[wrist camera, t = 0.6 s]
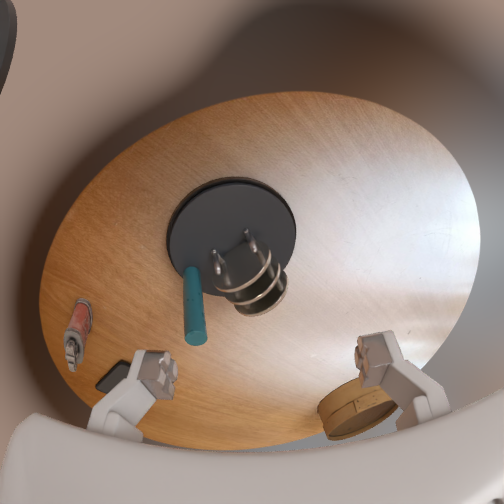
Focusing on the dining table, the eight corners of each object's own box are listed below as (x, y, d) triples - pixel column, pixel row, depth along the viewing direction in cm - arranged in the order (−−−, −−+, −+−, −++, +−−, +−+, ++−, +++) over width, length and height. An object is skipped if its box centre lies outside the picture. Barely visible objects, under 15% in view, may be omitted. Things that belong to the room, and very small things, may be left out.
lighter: (74, 296, 38) (57, 341, 29) (92, 301, 39) (78, 347, 31) (75, 328, 41) (63, 372, 33) (92, 333, 42) (82, 377, 34)
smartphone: (93, 388, 49) (120, 362, 46) (94, 385, 50) (120, 358, 46) (121, 400, 53) (151, 376, 49) (121, 397, 54) (151, 372, 50)
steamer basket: (330, 382, 67) (345, 416, 58) (397, 363, 73) (414, 390, 64) (307, 420, 80) (317, 447, 70) (367, 403, 85) (379, 426, 76)
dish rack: (144, 231, 34) (128, 295, 23) (256, 157, 32) (292, 190, 21) (216, 309, 43) (228, 376, 32) (310, 253, 41) (350, 310, 31)
